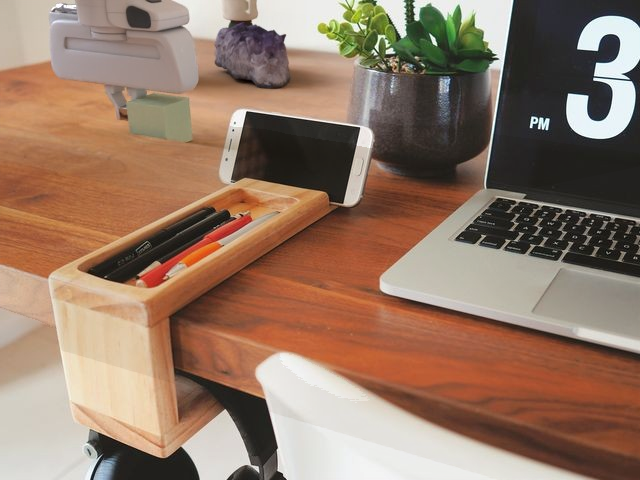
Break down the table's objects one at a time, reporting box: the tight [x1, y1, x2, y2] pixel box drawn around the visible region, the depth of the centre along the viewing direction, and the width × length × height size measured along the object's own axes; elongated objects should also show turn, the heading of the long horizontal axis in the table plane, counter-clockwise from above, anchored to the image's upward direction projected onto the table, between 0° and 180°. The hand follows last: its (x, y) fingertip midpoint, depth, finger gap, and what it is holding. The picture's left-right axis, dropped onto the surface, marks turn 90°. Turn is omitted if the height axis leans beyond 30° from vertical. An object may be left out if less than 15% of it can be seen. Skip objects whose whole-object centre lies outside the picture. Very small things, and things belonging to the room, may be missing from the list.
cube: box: [126, 92, 194, 144], centre depth 92 cm, size 6×6×6 cm
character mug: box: [221, 0, 259, 28], centre depth 147 cm, size 11×7×13 cm, turn 35°
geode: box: [213, 22, 291, 89], centre depth 127 cm, size 20×12×10 cm, turn 30°
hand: (129, 120), depth 93 cm, fingers closed
